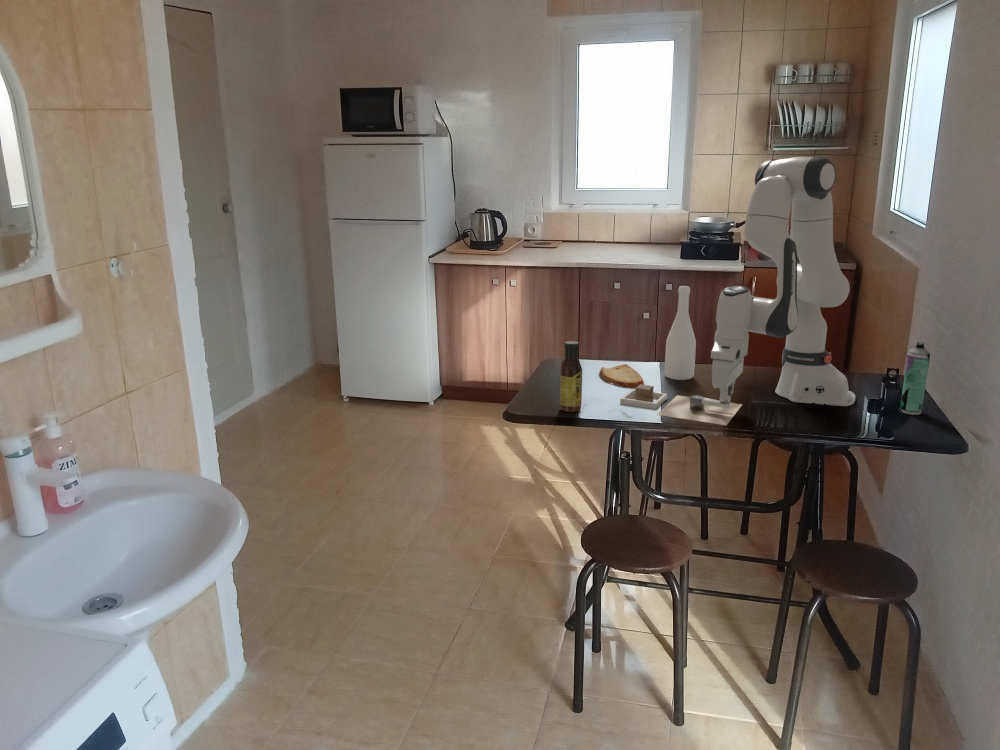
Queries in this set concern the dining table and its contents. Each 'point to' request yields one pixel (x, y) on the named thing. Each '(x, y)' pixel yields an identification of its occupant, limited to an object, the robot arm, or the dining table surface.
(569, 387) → the sauce bottle
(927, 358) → the spray can
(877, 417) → the dining table surface
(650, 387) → the block
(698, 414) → the crank board
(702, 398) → the crank
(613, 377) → the bread slice
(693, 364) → the wine bottle
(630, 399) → the tray
